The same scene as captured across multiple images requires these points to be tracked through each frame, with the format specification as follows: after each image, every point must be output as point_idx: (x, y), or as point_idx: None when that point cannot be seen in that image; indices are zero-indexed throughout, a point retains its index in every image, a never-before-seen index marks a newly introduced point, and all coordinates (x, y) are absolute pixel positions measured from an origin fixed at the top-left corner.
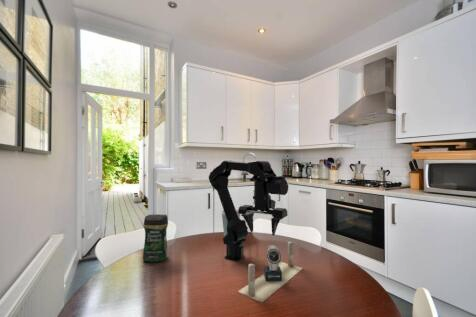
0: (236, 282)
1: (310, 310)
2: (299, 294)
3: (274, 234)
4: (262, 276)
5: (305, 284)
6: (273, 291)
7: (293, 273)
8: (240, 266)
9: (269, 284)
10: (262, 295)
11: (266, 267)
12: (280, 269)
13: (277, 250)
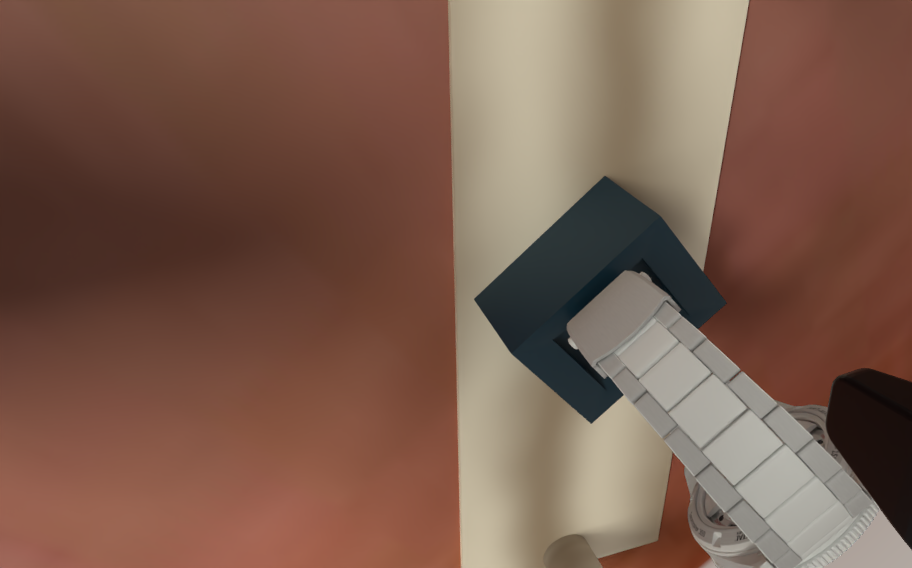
0: (354, 550)
1: None
2: (833, 301)
3: (875, 383)
4: (478, 331)
5: (858, 134)
6: None
7: (722, 18)
8: (83, 351)
9: None
10: (626, 503)
11: (548, 351)
12: (699, 272)
13: (877, 505)
